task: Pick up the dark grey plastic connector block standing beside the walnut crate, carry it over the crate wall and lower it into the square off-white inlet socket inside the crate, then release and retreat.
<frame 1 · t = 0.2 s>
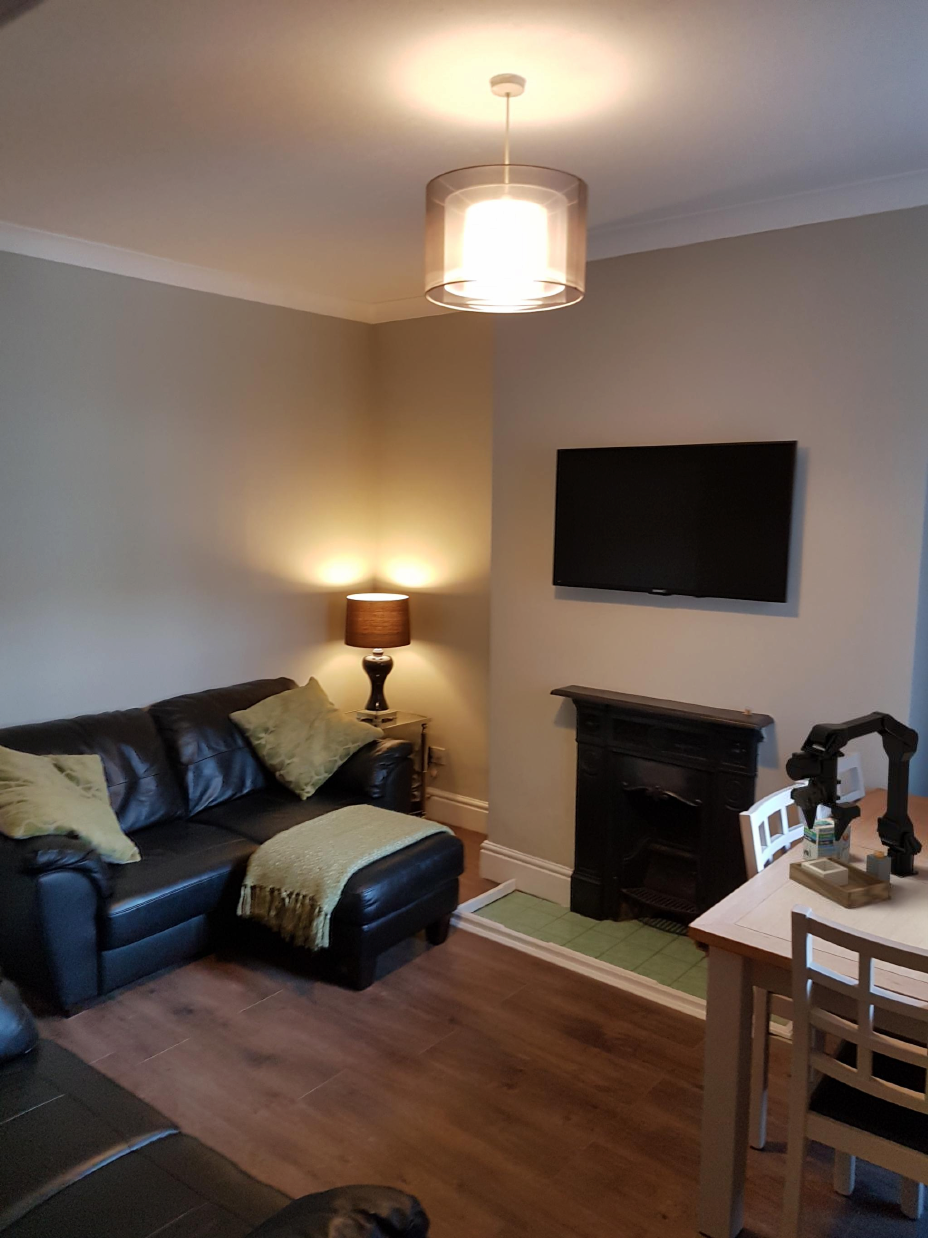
hand: (823, 835, 231), 14 cm above the table, fingers open, 9 cm apart
connector: (877, 886, 234), on the table
inlet socket: (823, 883, 236), resting on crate
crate: (838, 888, 233), on the table
light bulb box: (825, 861, 252), on the table
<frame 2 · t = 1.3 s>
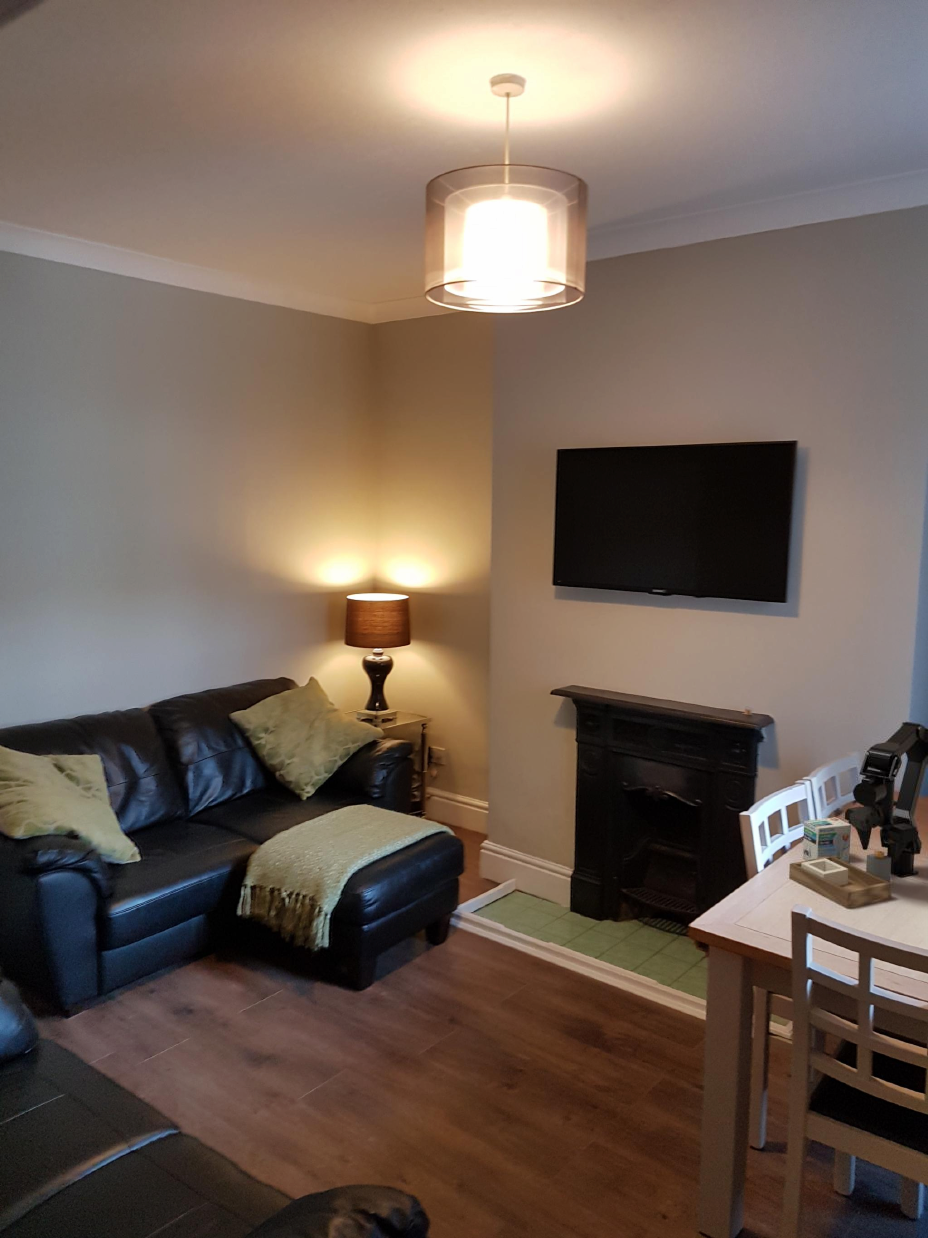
hand: (879, 855, 233), 8 cm above the table, fingers open, 9 cm apart
nothing on the table moved.
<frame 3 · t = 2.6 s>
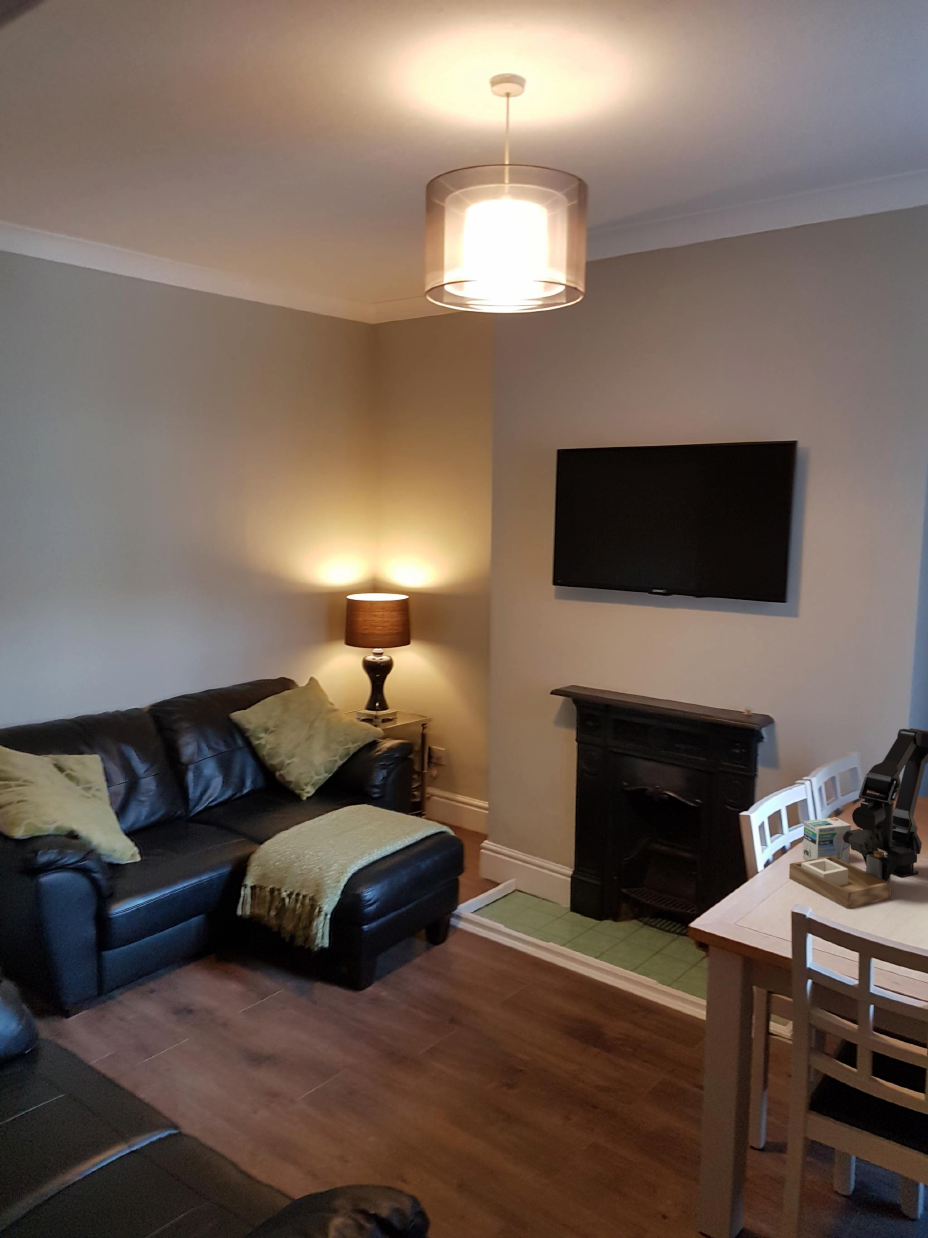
hand: (877, 878, 234), 2 cm above the table, fingers closed on connector, 4 cm apart
connector: (877, 886, 234), on the table, touching gripper
everything else where it was.
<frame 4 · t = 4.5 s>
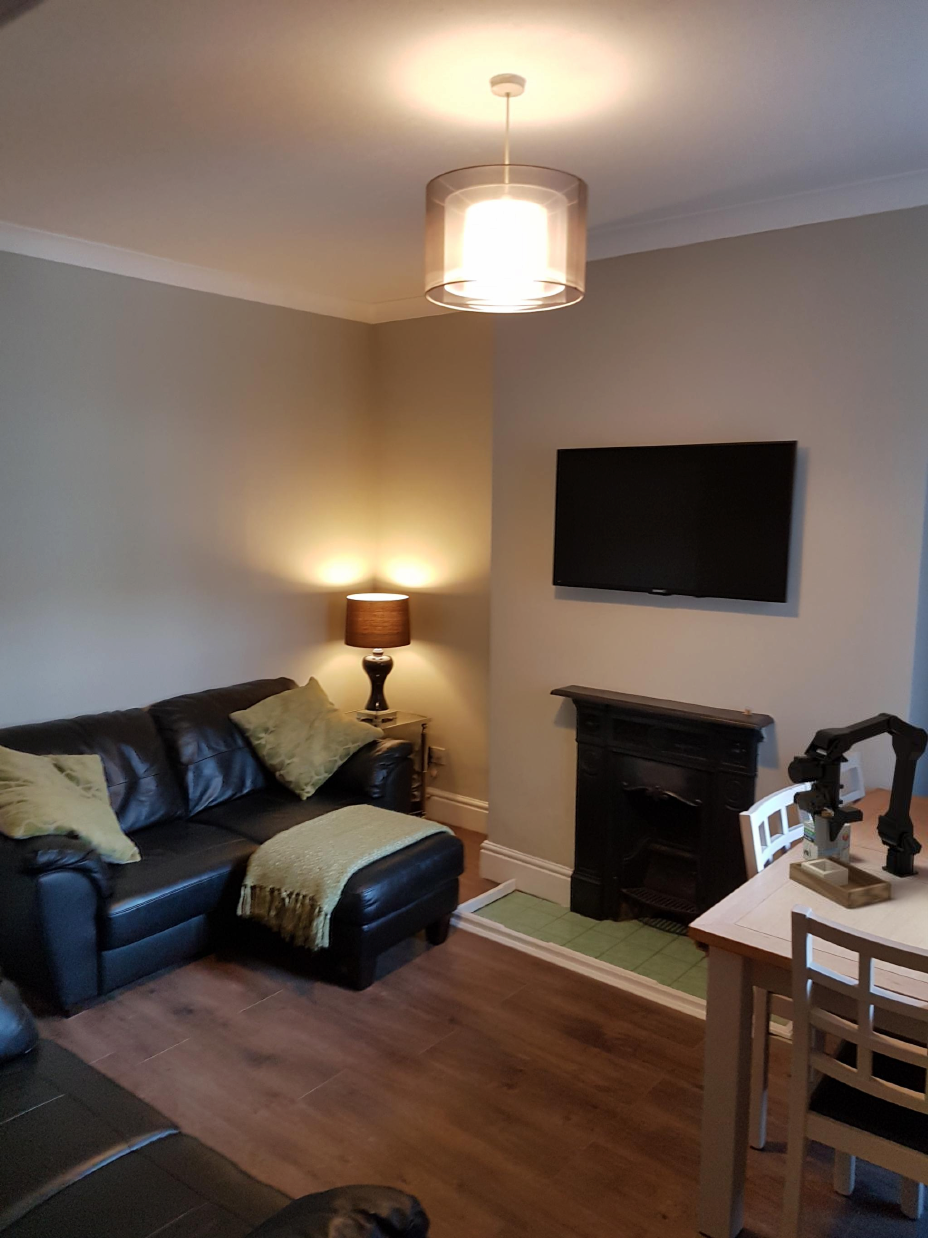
hand: (825, 838, 235), 12 cm above the table, fingers closed on connector, 4 cm apart
connector: (825, 846, 235), point 10 cm above the table, touching gripper
everything else where it was.
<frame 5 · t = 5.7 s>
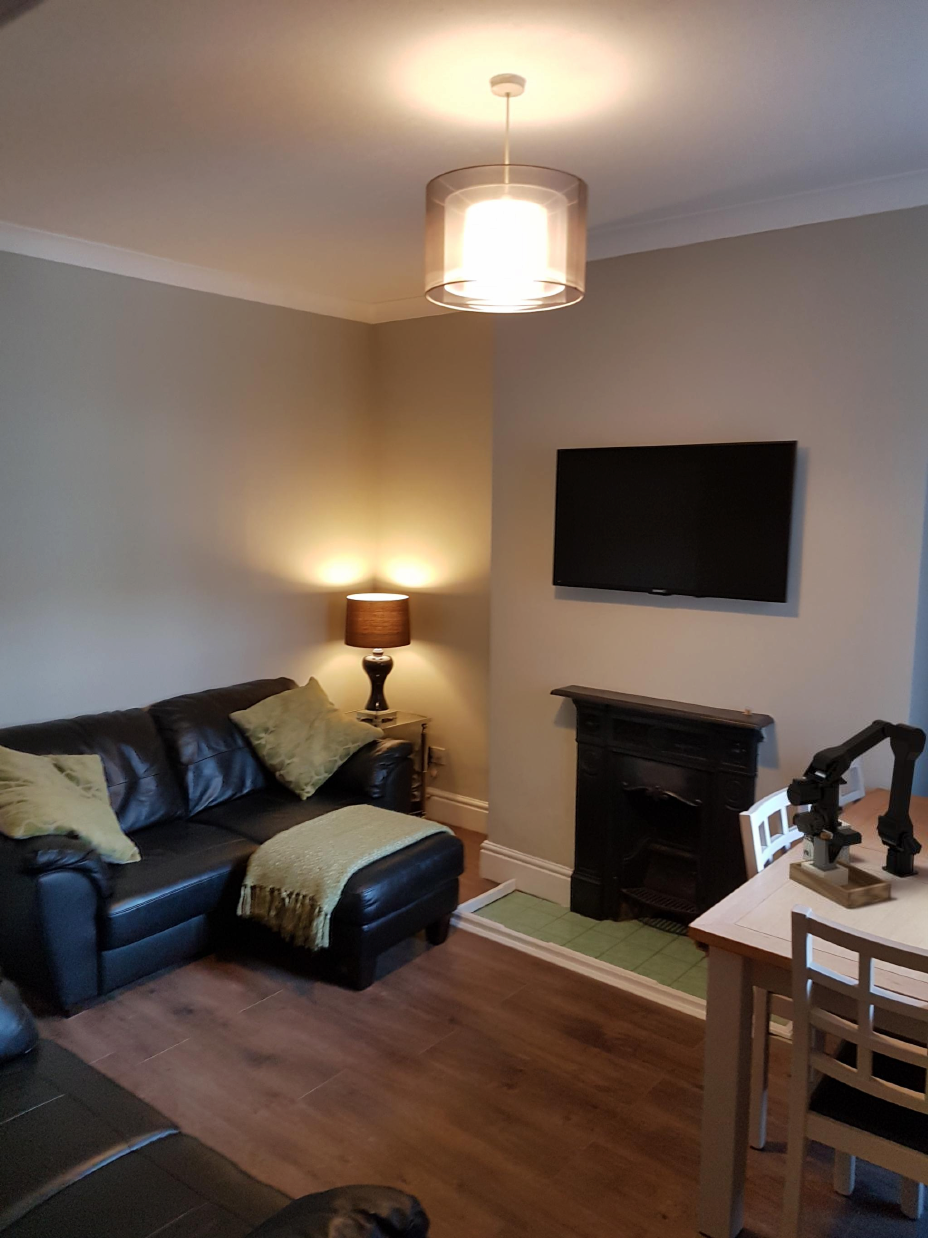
hand: (825, 860, 236), 6 cm above the table, fingers closed on connector, 4 cm apart
connector: (824, 867, 236), point 4 cm above the table, touching gripper
everything else where it was.
when the fingers open (5 cm above the table, at t = 6.7 s): connector drops 3 cm, resting on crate.
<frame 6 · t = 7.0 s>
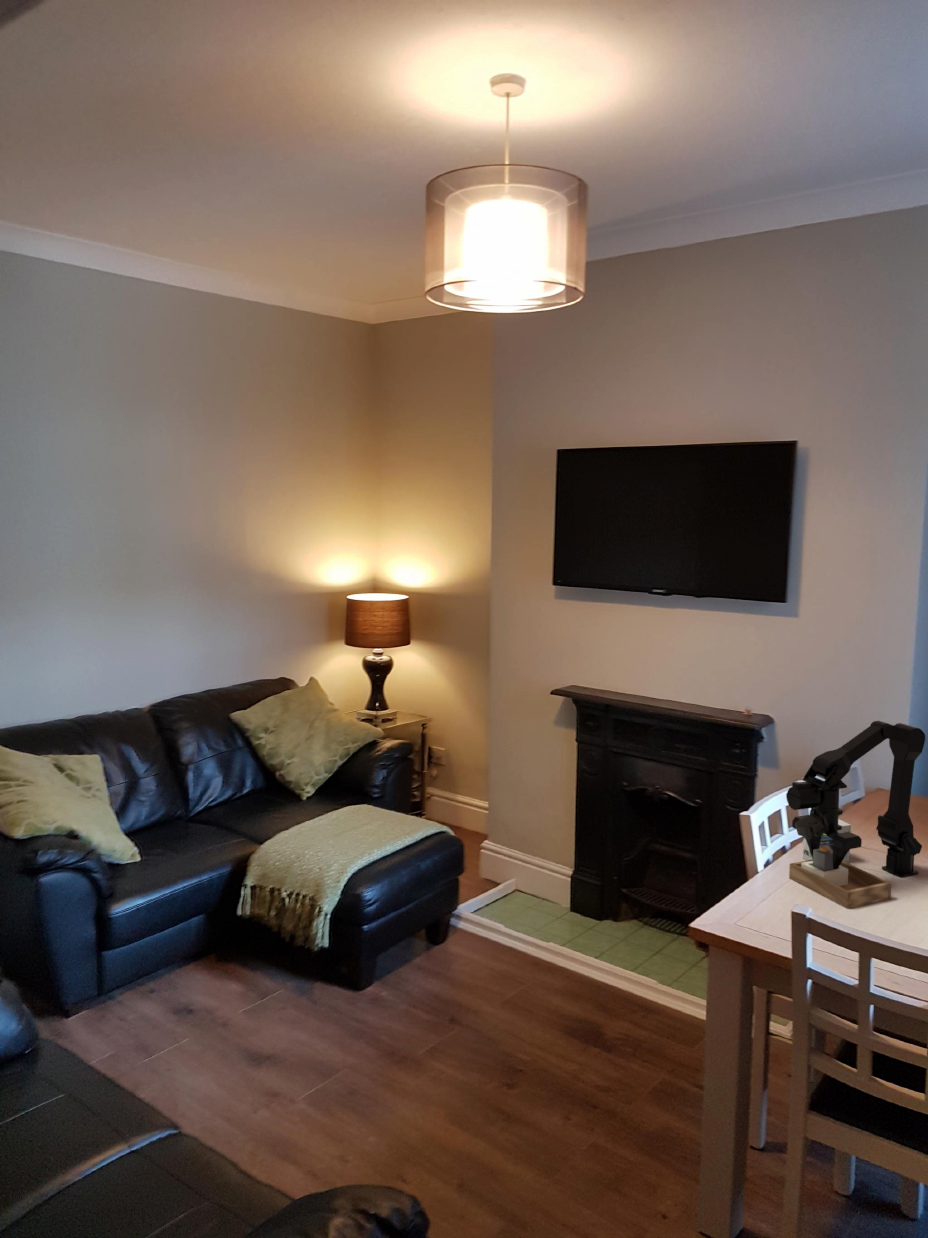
hand: (824, 864, 236), 5 cm above the table, fingers open, 7 cm apart
connector: (824, 881, 236), point 1 cm above the table, touching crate
everything else where it was.
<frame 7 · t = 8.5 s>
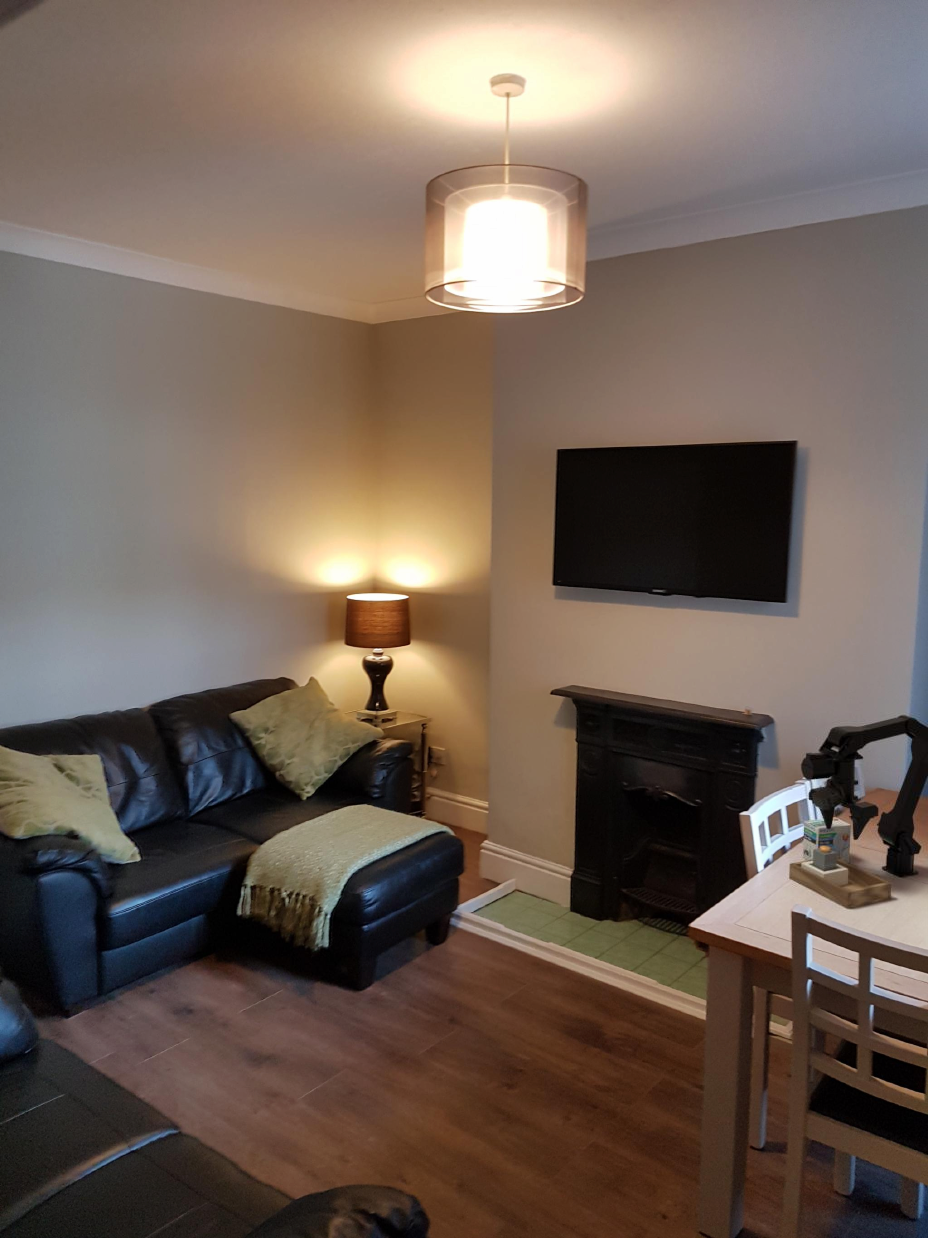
hand: (841, 834, 239), 12 cm above the table, fingers open, 9 cm apart
nothing on the table moved.
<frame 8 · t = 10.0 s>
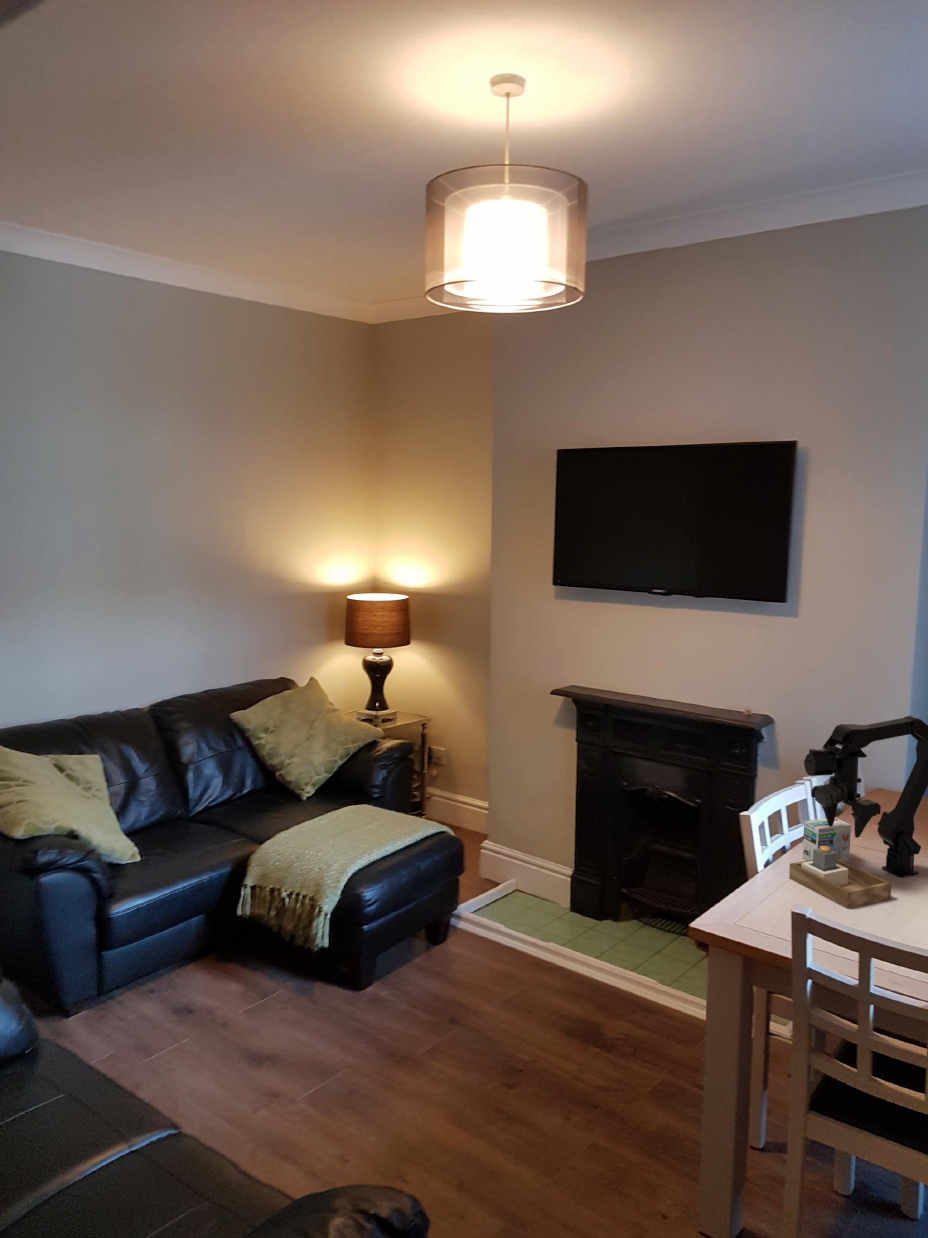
hand: (843, 831, 240), 12 cm above the table, fingers open, 9 cm apart
nothing on the table moved.
at the end: connector 0.0 cm off-centre on the inlet socket, point 0.6 cm above the inlet socket's base; connector tilted 0°; the gripper is holding nothing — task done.
